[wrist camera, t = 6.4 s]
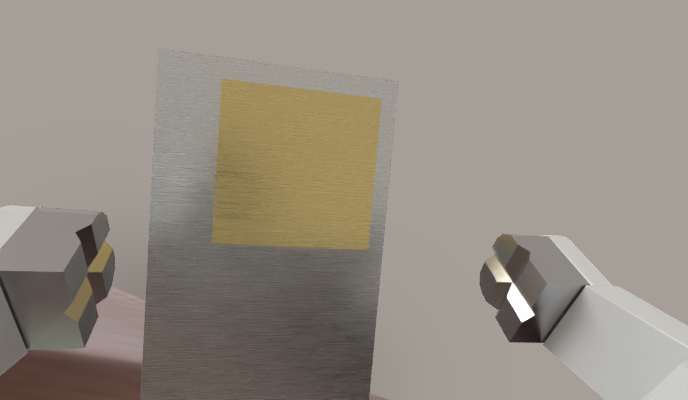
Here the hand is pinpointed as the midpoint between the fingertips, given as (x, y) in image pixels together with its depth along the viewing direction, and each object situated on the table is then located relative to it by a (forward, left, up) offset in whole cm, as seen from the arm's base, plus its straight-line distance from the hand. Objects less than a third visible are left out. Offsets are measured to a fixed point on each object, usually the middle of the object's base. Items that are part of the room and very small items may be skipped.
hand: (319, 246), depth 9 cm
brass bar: (+6, +8, 0) cm, 10 cm away
